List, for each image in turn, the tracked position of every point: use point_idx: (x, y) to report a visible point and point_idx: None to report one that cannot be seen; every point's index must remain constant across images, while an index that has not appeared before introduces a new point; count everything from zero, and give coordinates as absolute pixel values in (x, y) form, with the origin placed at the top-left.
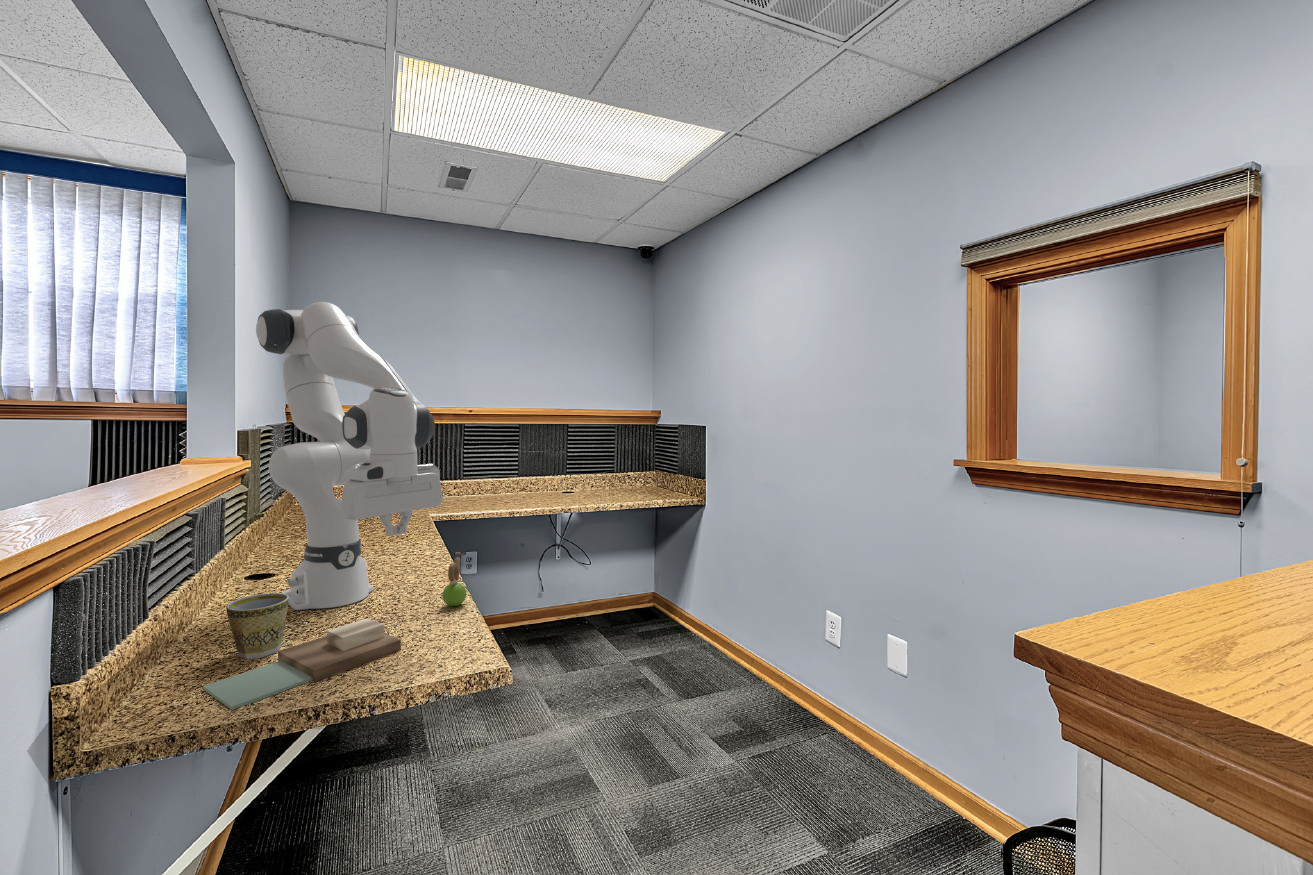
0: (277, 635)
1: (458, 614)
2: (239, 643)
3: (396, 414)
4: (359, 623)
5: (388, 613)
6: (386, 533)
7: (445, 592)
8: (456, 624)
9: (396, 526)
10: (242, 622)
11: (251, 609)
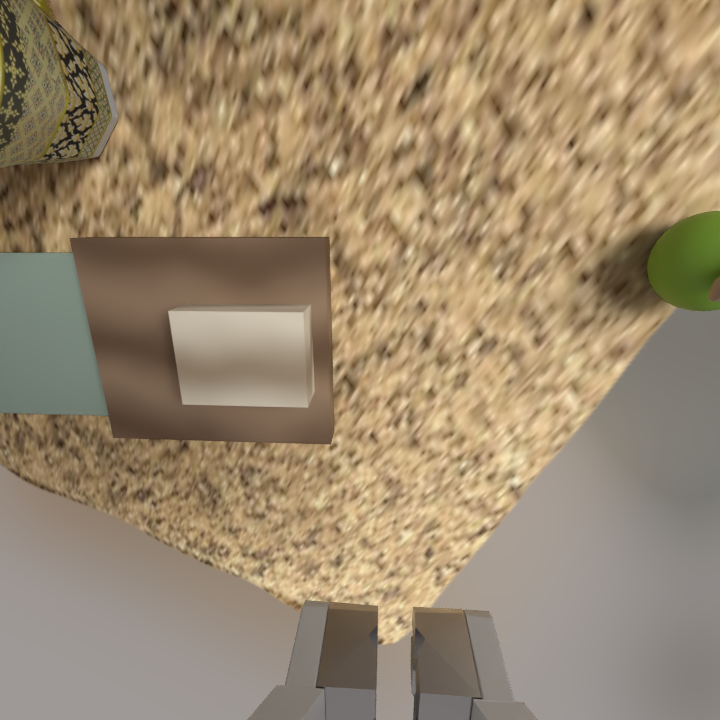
0: (63, 158)
1: (604, 344)
2: None
3: None
4: (263, 336)
5: (495, 110)
6: (303, 618)
7: (673, 264)
8: (532, 408)
9: (418, 692)
10: None
11: None
